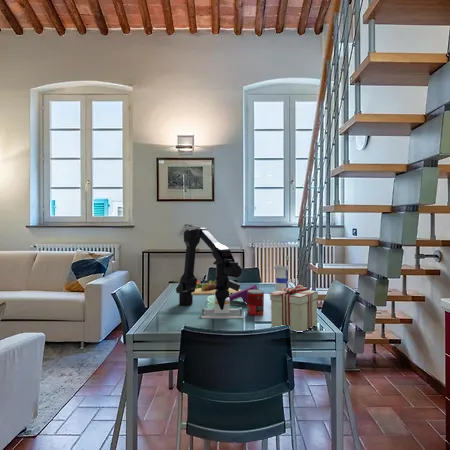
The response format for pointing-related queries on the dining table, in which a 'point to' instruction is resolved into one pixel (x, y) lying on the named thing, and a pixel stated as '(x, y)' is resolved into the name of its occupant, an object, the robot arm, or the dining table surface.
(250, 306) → the canned food
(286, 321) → the gift box
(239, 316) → the light grey long base
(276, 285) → the water bottle
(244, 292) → the mounting bracket
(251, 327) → the dining table surface
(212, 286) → the cutting board
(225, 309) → the grey slotted block
